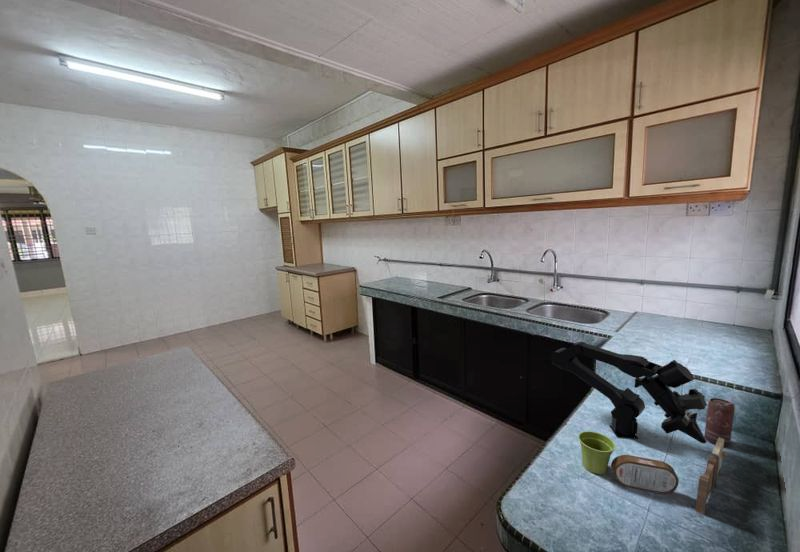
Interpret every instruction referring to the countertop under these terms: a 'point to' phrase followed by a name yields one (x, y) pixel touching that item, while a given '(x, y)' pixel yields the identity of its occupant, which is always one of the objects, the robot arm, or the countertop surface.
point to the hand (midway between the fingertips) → (704, 442)
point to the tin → (644, 474)
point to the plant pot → (595, 451)
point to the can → (719, 421)
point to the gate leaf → (718, 455)
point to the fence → (706, 485)
